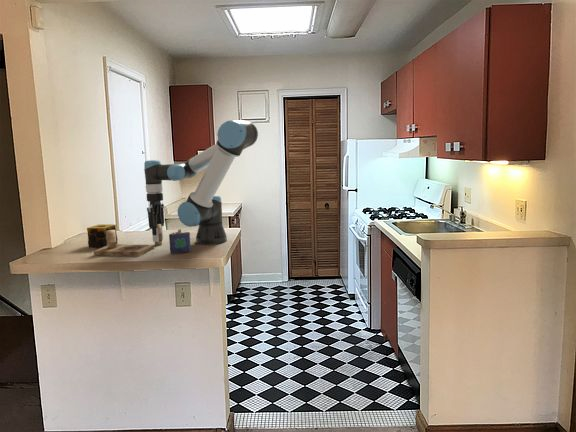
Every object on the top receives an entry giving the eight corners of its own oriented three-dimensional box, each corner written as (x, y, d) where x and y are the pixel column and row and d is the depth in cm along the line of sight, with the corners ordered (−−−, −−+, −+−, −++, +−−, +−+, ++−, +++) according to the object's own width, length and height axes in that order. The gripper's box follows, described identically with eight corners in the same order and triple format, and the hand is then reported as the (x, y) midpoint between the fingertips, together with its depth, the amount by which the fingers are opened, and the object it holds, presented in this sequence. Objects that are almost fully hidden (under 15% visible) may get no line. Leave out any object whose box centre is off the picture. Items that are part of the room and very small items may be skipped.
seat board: (153, 248, 220) (152, 228, 218) (139, 256, 206) (137, 234, 204) (110, 248, 224) (108, 227, 222) (93, 255, 210) (91, 233, 208)
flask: (190, 250, 214) (188, 227, 212) (191, 252, 211) (190, 228, 210) (169, 253, 210) (168, 229, 209) (171, 254, 208) (169, 231, 206)
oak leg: (164, 243, 230) (162, 223, 229) (160, 245, 226) (158, 225, 225) (156, 243, 231) (154, 223, 229) (152, 245, 227) (150, 225, 225)
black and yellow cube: (106, 248, 224) (104, 228, 222) (87, 248, 226) (85, 227, 224) (118, 243, 234) (116, 224, 232) (100, 243, 236) (98, 224, 234)
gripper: (155, 190, 234) (158, 236, 237) (138, 194, 217) (142, 244, 221) (169, 190, 232) (172, 236, 236) (153, 194, 216) (157, 244, 219)
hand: (158, 240), depth 228 cm, fingers closed on oak leg, 4 cm apart
